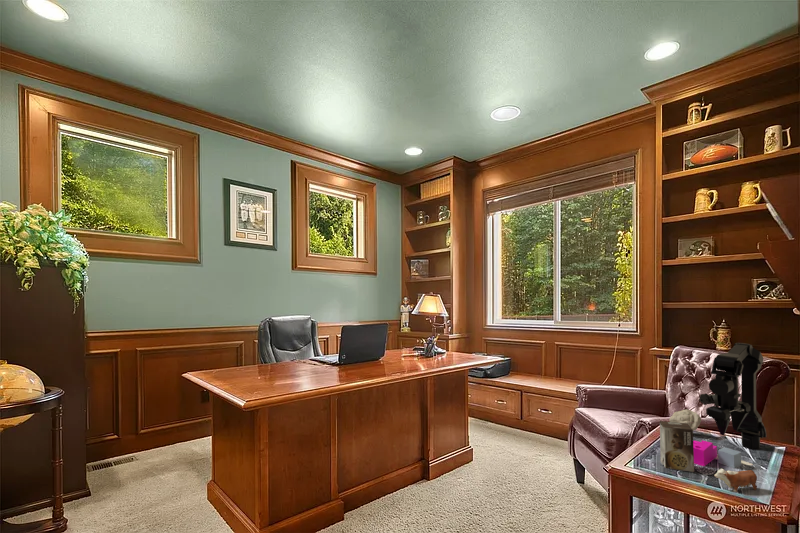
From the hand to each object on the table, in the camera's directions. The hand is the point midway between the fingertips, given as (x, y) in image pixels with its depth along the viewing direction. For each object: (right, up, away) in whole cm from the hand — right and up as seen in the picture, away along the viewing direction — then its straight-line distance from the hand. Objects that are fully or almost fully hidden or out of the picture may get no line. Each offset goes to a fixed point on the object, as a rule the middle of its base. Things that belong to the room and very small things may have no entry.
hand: (728, 432), depth 151 cm
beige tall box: (-21, -13, -3) cm, 25 cm away
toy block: (-5, -9, +2) cm, 10 cm away
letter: (+1, -12, +2) cm, 12 cm away
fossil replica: (+5, -12, +30) cm, 33 cm away
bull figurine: (-13, -12, -19) cm, 26 cm away
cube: (0, -12, 0) cm, 12 cm away
